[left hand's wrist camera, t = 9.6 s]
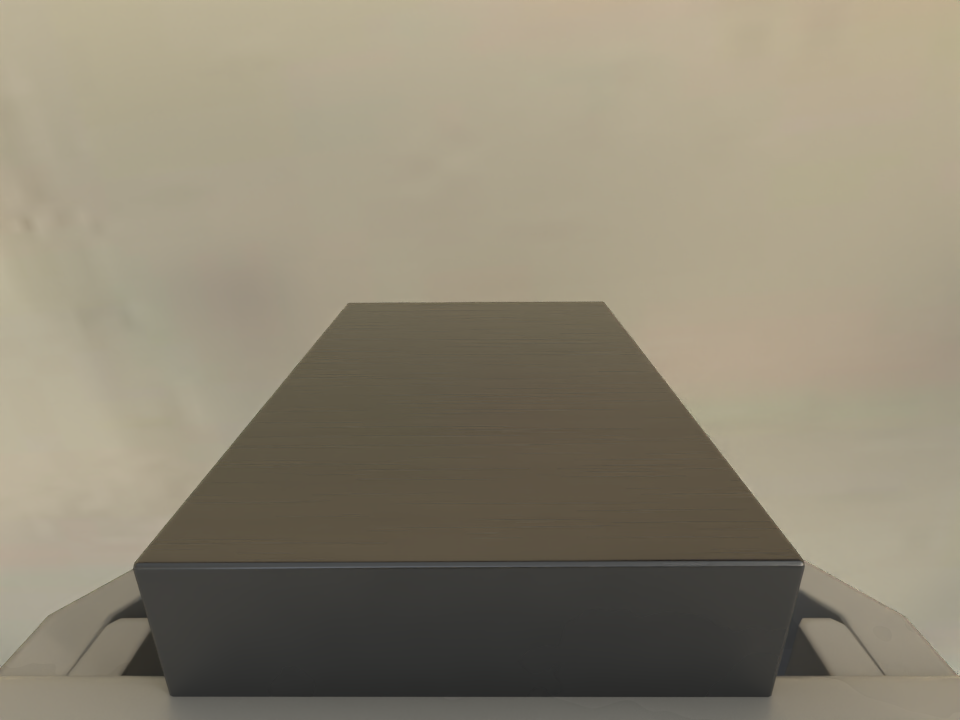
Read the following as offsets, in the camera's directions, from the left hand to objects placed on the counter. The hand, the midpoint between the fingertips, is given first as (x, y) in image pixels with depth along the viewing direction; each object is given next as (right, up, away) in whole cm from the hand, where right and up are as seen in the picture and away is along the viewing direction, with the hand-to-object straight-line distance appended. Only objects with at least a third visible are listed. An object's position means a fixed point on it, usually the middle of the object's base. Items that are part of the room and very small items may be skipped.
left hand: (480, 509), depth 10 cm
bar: (0, -6, +6) cm, 8 cm away
